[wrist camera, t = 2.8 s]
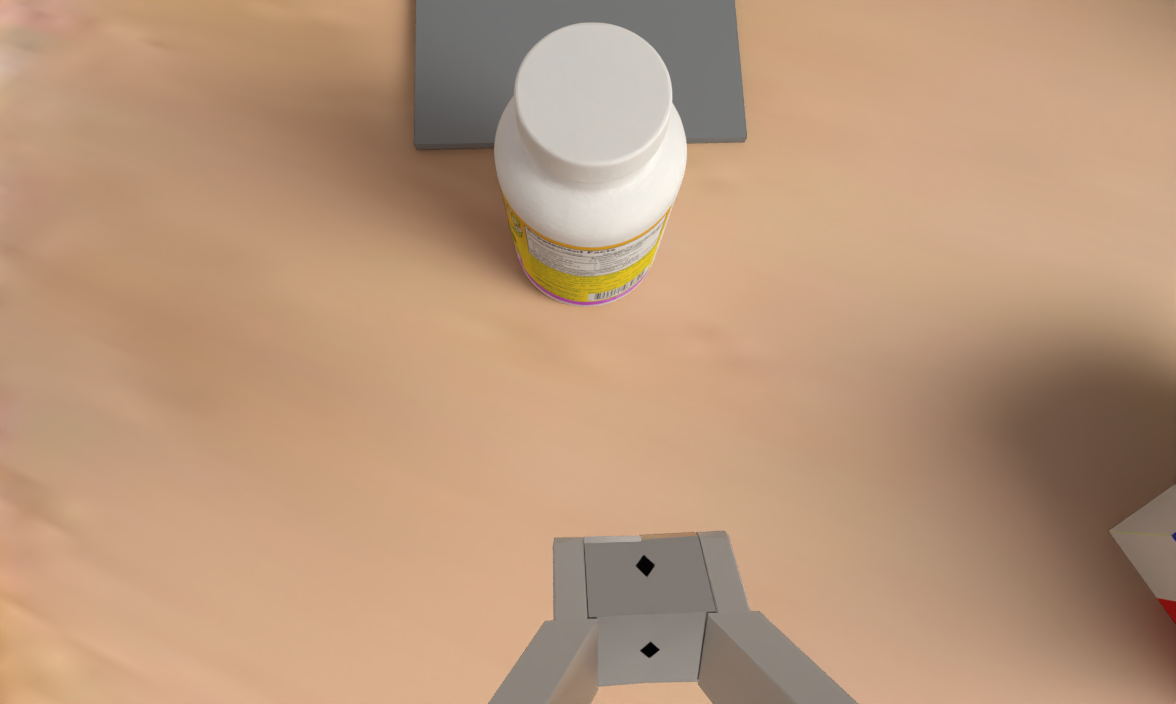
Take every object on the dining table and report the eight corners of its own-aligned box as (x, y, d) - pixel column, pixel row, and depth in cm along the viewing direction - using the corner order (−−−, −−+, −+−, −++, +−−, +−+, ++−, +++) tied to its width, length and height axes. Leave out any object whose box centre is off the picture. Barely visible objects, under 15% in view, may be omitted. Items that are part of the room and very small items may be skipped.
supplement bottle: (544, 159, 34) (528, -40, 21) (673, 204, 33) (736, 29, 21) (494, 284, 32) (445, 151, 20) (628, 332, 32) (666, 227, 19)
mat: (744, 142, 34) (747, 137, 33) (416, 149, 33) (414, 144, 33) (722, -101, 37) (724, -109, 36) (419, -97, 36) (417, -106, 36)
